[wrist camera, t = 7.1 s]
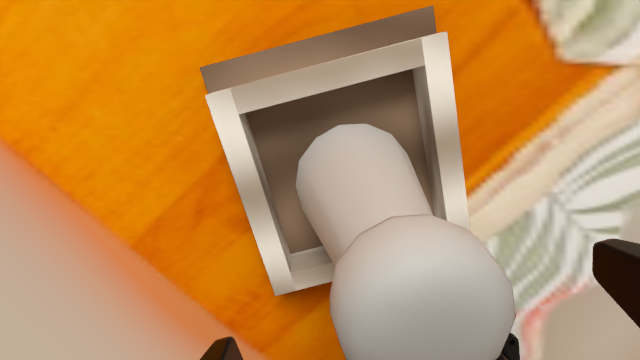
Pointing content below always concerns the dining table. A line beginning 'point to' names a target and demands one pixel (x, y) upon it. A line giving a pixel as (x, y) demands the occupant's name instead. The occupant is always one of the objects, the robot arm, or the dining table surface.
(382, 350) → the salt shaker
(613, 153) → the dining table surface
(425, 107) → the shaker stand
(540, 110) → the dining table surface
